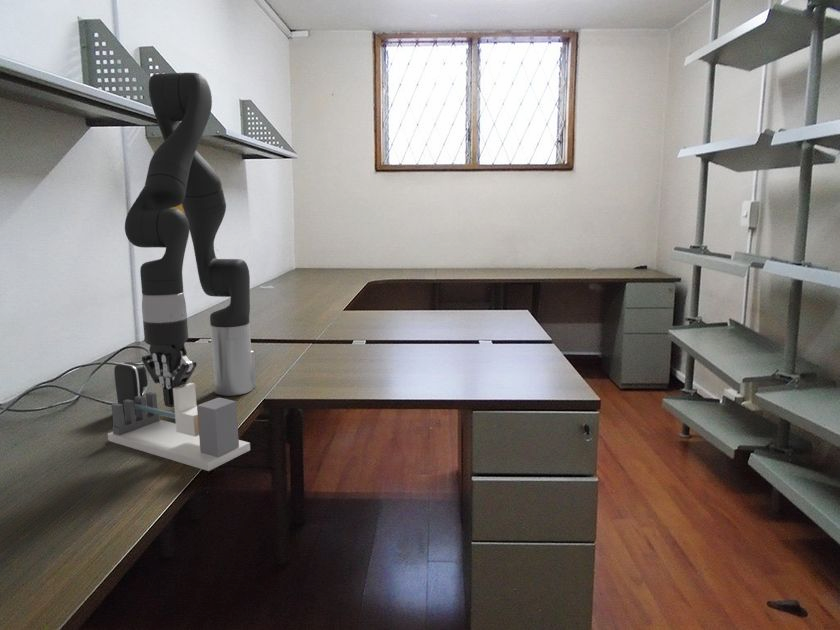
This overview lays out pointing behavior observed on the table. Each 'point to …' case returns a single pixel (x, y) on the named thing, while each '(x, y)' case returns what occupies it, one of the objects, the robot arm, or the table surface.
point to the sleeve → (186, 409)
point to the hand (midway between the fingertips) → (172, 405)
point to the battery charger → (129, 381)
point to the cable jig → (163, 440)
